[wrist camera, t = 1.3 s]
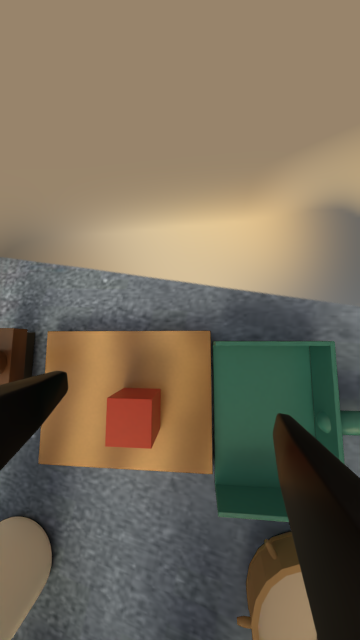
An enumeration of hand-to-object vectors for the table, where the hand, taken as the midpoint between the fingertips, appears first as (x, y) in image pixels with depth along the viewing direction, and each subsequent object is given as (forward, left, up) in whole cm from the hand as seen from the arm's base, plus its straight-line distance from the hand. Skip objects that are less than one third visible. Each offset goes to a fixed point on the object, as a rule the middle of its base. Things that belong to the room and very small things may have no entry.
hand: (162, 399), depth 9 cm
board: (-7, +1, -15) cm, 16 cm away
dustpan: (+7, -11, -15) cm, 19 cm away
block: (-6, -1, -13) cm, 14 cm away
